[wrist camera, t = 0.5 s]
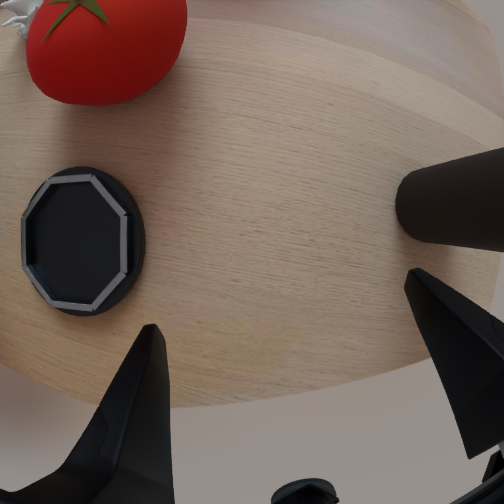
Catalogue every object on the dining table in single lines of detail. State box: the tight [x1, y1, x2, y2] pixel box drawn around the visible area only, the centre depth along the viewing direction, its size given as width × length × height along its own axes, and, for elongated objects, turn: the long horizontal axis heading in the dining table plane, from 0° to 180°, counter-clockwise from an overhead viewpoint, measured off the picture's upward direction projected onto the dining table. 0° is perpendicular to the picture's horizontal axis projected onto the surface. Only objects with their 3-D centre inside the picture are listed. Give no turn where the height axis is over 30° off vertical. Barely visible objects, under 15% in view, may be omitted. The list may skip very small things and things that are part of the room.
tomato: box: [26, 0, 187, 106], centre depth 17 cm, size 13×14×12 cm
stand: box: [21, 167, 145, 316], centre depth 23 cm, size 13×13×2 cm
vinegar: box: [396, 147, 504, 252], centre depth 15 cm, size 7×7×20 cm
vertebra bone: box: [0, 0, 44, 39], centre depth 19 cm, size 10×8×10 cm
